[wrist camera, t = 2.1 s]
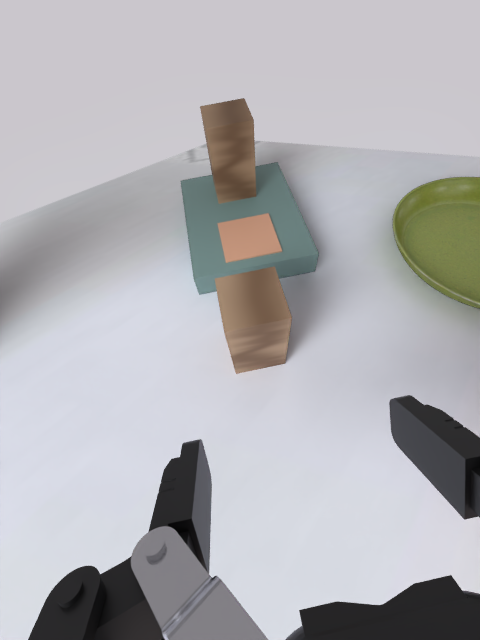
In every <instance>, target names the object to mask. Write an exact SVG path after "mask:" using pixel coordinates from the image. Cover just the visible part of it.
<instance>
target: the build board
mask: <svg viewBox="0 0 480 640" xmlns="http://www.w3.org/2000/svg"><path fill="white" fill-rule="evenodd" d="M255 174H256V197H252V198H246V199H241V200H236V201H231V202H226V203H221V204H219V203H218V199H217V194H216V190H215V186H214V182H213V176H212V175H209V176H203V177H198V178H193V179H188V180H183V181H181V187H182V195H183V202H184V210H185V217H186V225H187V232H188V239H189V247H190V254H191V262H192V269H193V277H194V281H195V284H196V286H197V289H198V292H199V295H200V294H205V293H210V292H215V291H217V289H216V284H215V278H220V277H225V276H230V275H235V274H240V273H245V272H250V271H254V270H259V269H264V268H269V267H274V266H275V269H276V272H277V275H278V278H284V277H289V276H294V275H299V274H303V273H308V272H313V271H315V268H316V264H317V259H318V255H319V253H318V251H317V248H316V246H315V244H314V242H313V240H312V237H311V235H310V233H309V231H308V229H307V226H306V224H305V222H304V220H303V218H302V215H301V213H300V211H299V209H298V207H297V204H296V202H295V200H294V198H293V196H292V193H291V191H290V189H289V187H288V184H287V182H286V180H285V178H284V176H283V173H282V171H281V169H280V167H279V165H278V162H276V163H271V164H266V165H261V166H255Z"/></svg>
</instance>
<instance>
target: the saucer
mask: <svg viewBox="0 0 480 640" xmlns="http://www.w3.org/2000/svg"><path fill="white" fill-rule="evenodd" d="M393 232H394V236H395V240H396V243H397V246H398V248H399V250H400V252H401V254H402V256H403V258H404V259H405V261H406V262H407V264H408V265H409V266H410V267H411V269H412V270H413V271H414V272H415V273H416V274H417V275H418V276H419V277H420V278H421V279H423V280H424V281H425V282H426V283H427V284H429V285H430V286H432V287H433V288H434V289H436V290H438V291H439V292H441V293H443V294H444V295H446V296H448V297H450V298H452V299H455V300H457V301H459V302H462V303H464V304H467V305H470V306H473V307H476V308H480V177H454V178H445V179H440V180H436V181H432V182H429V183H426V184H423V185H421V186H419V187H417V188H415V189H414V190H412V191H411V192H409V193H408V194H407V195H405V196H404V197H403V198H402V199H401V201H400V202H399V204H398V205H397V207H396V209H395V212H394V215H393Z"/></svg>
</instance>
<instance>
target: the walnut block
mask: <svg viewBox="0 0 480 640" xmlns="http://www.w3.org/2000/svg"><path fill="white" fill-rule="evenodd" d="M215 284H216V289H217V295H218V300H219V306H220V311H221V317H222V322H223V327H224V333H225V336H226V340H227V343H228V347H229V350H230V354H231V357H232V361H233V365H234V368H235V372H236V374H238V373H242V372H247V371H252V370H257V369H261V368H266V367H271V366H276V365H280V364H285V361H286V354H287V347H288V341H289V334H290V327H291V320H292V317H291V314H290V311H289V308H288V305H287V302H286V299H285V296H284V293H283V290H282V287H281V284H280V281H279V278H278V275H277V272H276V269H275V266H274V267H269V268H264V269H259V270H254V271H250V272H245V273H240V274H235V275H230V276H225V277H220V278H215Z"/></svg>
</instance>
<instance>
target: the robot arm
mask: <svg viewBox="0 0 480 640" xmlns="http://www.w3.org/2000/svg"><path fill="white" fill-rule="evenodd" d="M390 420H391V432H392V436H393V439H394V441H395V443H396V444H397V446H398V447H399V448H400V449H401V450H402V451H403V452H404V454H405V455H406V456H407V457H408V458H409V459H410V460H411V461H412V462H413V463H414V465H415V466H416V467H417V468H418V469H419V470H420V471H421V472H422V473H423V474H424V476H425V477H426V478H427V479H428V480H429V481H430V482H431V483H432V484H433V485H434V487H435V488H436V489H437V490H438V491H439V492H440V493H441V494H442V495H443V496H444V497H445V499H446V500H447V501H448V502H449V503H450V504H451V505H452V506H453V507H454V508H455V510H456V511H457V512H458V513H459V514H460V515H461V516H462V517H463V518H464V519H469V518H473V517H478V516H479V517H480V438H479V437H478V436H477V435H475V434H474V433H473V432H471V431H470V430H468V429H467V428H466V427H465V428H464V427H463V425H461V424H460V423H459V422H457V421H456V420H455V421H454V419H453V418H452V417H450V416H449V415H448V414H446V413H445V412H443V411H442V410H440V409H437V408H435V407H432V406H430V405H423V404H422V403H420V402H419V401H418V400H416V399H415V398H414V397H412V396H410V395H408V396H403V397H398V398H394V399H391V400H390ZM211 492H212V483H211V474H210V469H209V465H208V461H207V458H206V454H205V450H204V446H203V443H202V440H201V439H200V440H195V441H190V442H186V443H183V444H182V449H181V455H180V457H179V458H174V459H171V461H170V462H169V463H168V465H167V466H166V468H165V469H164V472H163V476H162V480H161V484H160V488H159V493H158V496H157V500H156V504H155V508H154V512H153V516H152V520H151V524H150V528H149V532H148V533H147V534H146V535H145V536H143V537H142V538H141V540H140V541H139V542H138V543H137V545H136V547H135V548H134V550H133V553H132V556H131V557H130V558H128V559H127V560H125V561H124V562H122V563H120V564H119V565H117V566H115V567H113V568H111V569H110V570H108V571H106V572H104V573H102V574H100V573H99V571H98V570H97V568H95V567H93V566H83V567H80V568H78V569H76V570H74V571H72V572H71V573H69V574H68V575H66V576H65V577H64V578H63V579H62V580H61V581H60V582H59V583H58V584H57V585H56V586H55V587H54V588H53V590H52V591H51V593H50V594H49V596H48V597H47V599H46V601H45V603H44V605H43V608H42V610H41V612H40V614H39V617H38V619H37V621H36V623H35V625H34V628H33V630H32V632H31V634H30V637H29V639H28V640H268V639H267V638H266V636H265V635H264V634H263V632H262V631H261V630H260V629H259V627H258V626H257V625H256V624H255V622H254V621H253V620H252V618H251V617H250V616H249V615H248V613H247V612H246V611H245V609H244V608H243V607H242V606H241V604H240V603H239V602H238V601H237V599H236V598H235V597H234V595H233V594H232V593H231V592H230V590H229V589H228V588H227V587H226V585H225V584H224V583H223V582H222V580H221V579H220V578H219V577H217V576H214V577H213V578H212V577H211V576H210V575H209V558H210V525H211ZM299 611H300V616H301V622H302V626H301V627H300V628H298V629H297V630H295V631H294V632H293V633H292V634H291V635H290V636H289V637H287V639H286V640H480V594H478V593H473V592H468V591H462V590H461V588H460V587H459V586H458V584H457V583H456V581H455V580H454V579H453V577H452V576H451V575H450V576H446V577H441V578H437V579H433V580H428V581H424V582H420V583H415V584H413V585H412V586H410V587H409V588H407V589H406V590H404V591H403V592H401V593H400V594H398V595H397V596H395V597H394V598H392V599H391V600H389V601H388V602H386V603H385V604H383V605H369V604H358V603H347V602H333V603H328V604H324V605H320V606H315V607H311V608H307V609H302V610H299Z"/></svg>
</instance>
